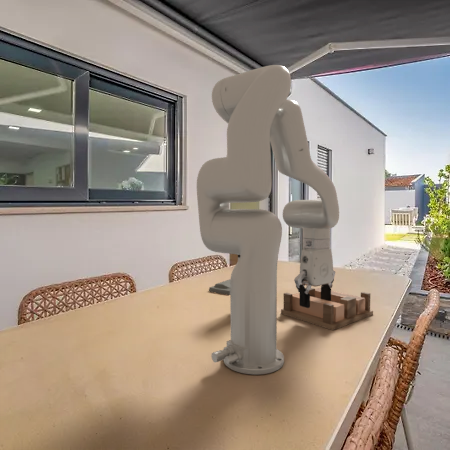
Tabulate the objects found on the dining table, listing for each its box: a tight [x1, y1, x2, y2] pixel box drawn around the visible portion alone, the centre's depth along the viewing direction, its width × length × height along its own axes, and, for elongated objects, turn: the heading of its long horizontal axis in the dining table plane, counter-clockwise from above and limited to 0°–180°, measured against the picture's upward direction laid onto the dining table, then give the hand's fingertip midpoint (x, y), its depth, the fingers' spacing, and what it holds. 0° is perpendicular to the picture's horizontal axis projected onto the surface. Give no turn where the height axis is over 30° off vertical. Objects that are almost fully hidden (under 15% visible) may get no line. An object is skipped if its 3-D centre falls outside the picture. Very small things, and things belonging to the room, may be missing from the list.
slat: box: [292, 292, 344, 322], centre depth 99 cm, size 16×4×4 cm, turn 40°
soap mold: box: [208, 278, 231, 296], centre depth 135 cm, size 10×20×4 cm, turn 145°
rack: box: [280, 285, 374, 331], centre depth 102 cm, size 20×18×6 cm
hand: (315, 303), depth 99 cm, fingers open, 9 cm apart
